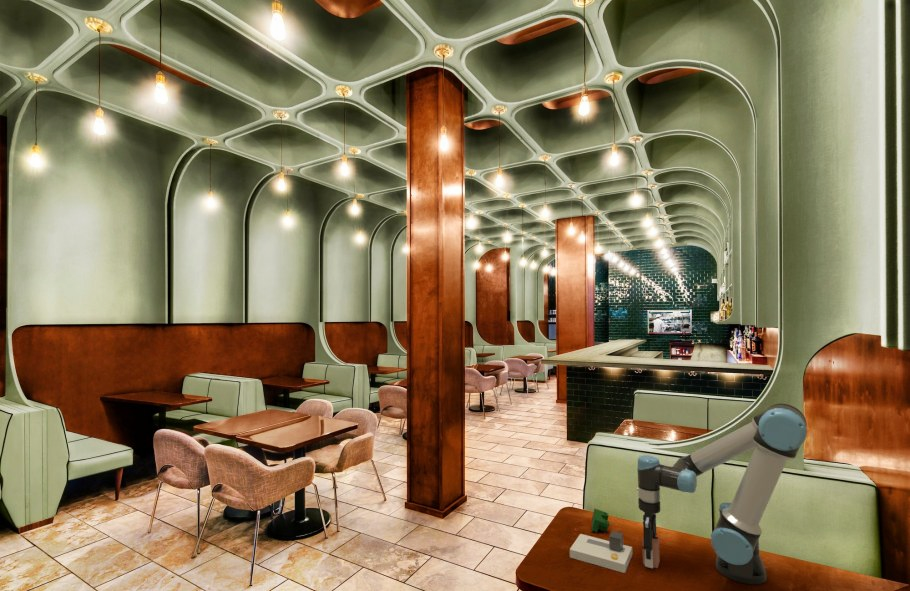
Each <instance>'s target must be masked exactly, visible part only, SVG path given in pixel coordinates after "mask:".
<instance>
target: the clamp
mask: <svg viewBox="0 0 910 591" xmlns="http://www.w3.org/2000/svg"><path fill="white" fill-rule="evenodd" d="M609 527H610V521H609V513H608V512H606V511H603V510H600V509H597V508H595V507H594V510H593V513H592V517H591V531H592V532H594V533H598V531H603V532H605V533H607V532H608V528H609Z"/></svg>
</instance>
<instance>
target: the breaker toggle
mask: <svg viewBox="0 0 910 591" xmlns="http://www.w3.org/2000/svg"><path fill="white" fill-rule="evenodd" d="M608 541H609V549H612V550H615V551H619V552H621V550H622V548H623V545H624V533H623V532H618V531H614V530H611V533H610V534H609V536H608Z"/></svg>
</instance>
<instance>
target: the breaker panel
mask: <svg viewBox="0 0 910 591" xmlns="http://www.w3.org/2000/svg"><path fill="white" fill-rule="evenodd" d="M632 557H633V546H629V545H626V544H623V548H622V550H621V552H619V551H615V550H612V549H609V540H606V539H602V538H599V537H595V536H590V535H587V534H582V533H580V534H579V535H578V536H577V538H576V540H575V541H574V543H573V544H572V545H571V547H570V548H569V558H571V559H575V560H577V561H581V562H585V563H588V564H590V565H591V564H593V565H596V566H599V567H602V568H605V569H610V570H611V571H612V570H613V571H616V572H620V573H623V574H626V572H627V570H628V567H629V564H630V563H631V559H632Z"/></svg>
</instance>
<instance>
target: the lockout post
mask: <svg viewBox="0 0 910 591" xmlns="http://www.w3.org/2000/svg"><path fill="white" fill-rule="evenodd" d="M641 544H642V545H641V546H642V547H644V540H642V543H641ZM642 547H641V548H642ZM652 549H653V568H656V569H658V568H659V564H660V560H661V559H660V539H659V538H658V539H654V538H652ZM642 565H644V566H645V550H644V549H643V548H642Z"/></svg>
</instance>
